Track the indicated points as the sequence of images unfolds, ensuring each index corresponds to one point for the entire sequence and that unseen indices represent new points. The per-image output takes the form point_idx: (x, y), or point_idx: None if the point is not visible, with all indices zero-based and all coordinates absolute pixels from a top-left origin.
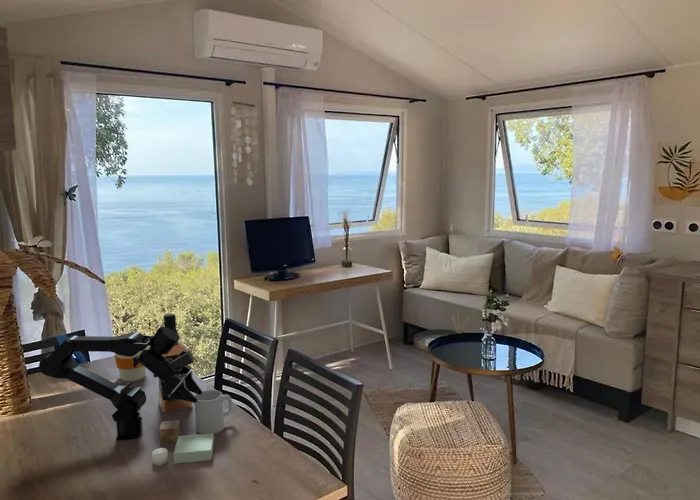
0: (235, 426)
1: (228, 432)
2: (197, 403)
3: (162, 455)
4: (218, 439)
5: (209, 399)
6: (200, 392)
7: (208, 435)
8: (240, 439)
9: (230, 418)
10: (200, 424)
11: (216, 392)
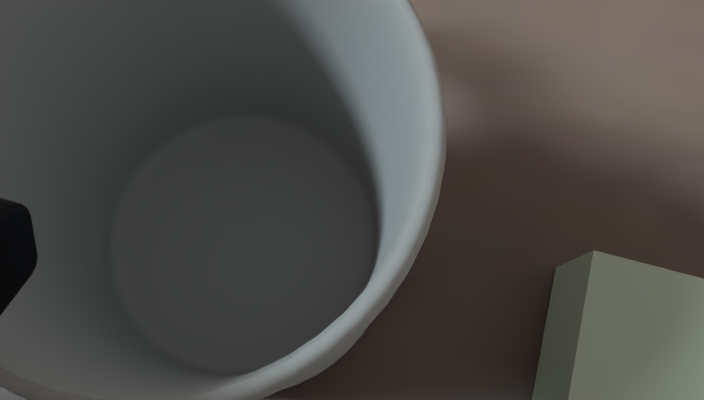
0: None
1: None
2: (304, 377)
3: None
4: (511, 219)
5: (7, 128)
6: (9, 246)
7: (637, 315)
8: (586, 45)
9: None
10: (338, 356)
11: None
